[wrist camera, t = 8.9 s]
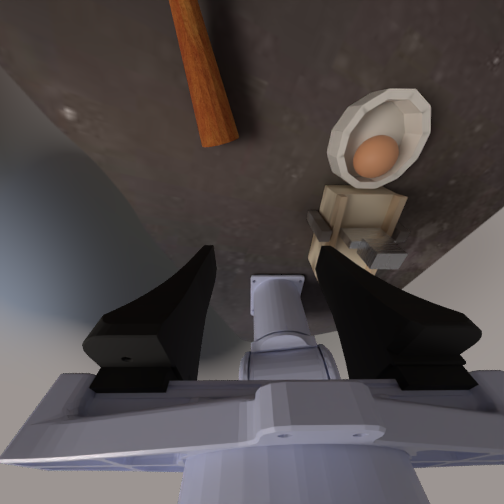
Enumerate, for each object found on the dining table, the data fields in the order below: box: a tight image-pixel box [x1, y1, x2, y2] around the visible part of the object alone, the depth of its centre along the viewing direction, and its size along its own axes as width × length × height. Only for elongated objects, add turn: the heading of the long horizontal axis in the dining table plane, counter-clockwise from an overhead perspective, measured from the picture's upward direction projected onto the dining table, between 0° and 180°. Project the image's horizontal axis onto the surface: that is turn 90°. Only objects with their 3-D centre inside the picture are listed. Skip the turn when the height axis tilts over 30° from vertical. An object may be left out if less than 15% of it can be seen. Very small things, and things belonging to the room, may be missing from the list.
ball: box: [353, 135, 399, 178], centre depth 16 cm, size 3×3×3 cm
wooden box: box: [306, 185, 411, 280], centre depth 21 cm, size 10×9×5 cm
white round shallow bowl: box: [327, 89, 431, 189], centre depth 17 cm, size 7×7×2 cm
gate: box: [338, 228, 408, 269], centre depth 17 cm, size 2×4×5 cm, turn 89°
